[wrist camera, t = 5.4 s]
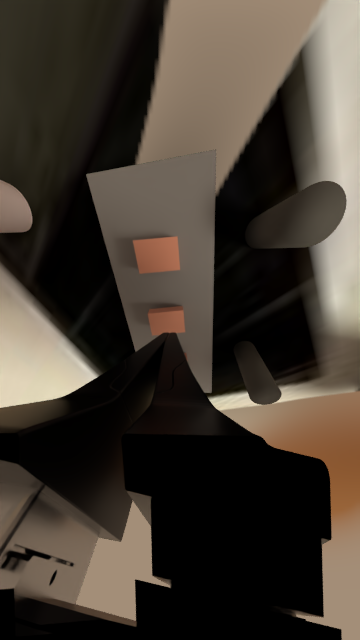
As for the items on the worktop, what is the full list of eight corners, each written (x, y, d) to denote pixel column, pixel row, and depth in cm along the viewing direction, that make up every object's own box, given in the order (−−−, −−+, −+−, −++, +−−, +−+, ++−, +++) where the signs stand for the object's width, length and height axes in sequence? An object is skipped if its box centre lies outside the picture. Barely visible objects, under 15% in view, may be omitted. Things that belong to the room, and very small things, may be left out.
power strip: (211, 175, 10) (216, 149, 8) (209, 372, 19) (211, 392, 16) (112, 191, 12) (86, 174, 9) (153, 371, 20) (146, 389, 18)
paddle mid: (182, 305, 12) (183, 310, 11) (184, 326, 13) (185, 332, 12) (149, 309, 12) (147, 313, 11) (153, 329, 13) (152, 335, 12)
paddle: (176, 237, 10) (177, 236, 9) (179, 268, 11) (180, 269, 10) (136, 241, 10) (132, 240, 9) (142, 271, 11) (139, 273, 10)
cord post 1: (256, 340, 16) (284, 385, 11) (253, 357, 17) (277, 405, 12) (234, 340, 16) (251, 384, 11) (232, 356, 18) (247, 403, 12)
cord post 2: (279, 212, 11) (356, 176, 6) (273, 247, 12) (333, 244, 7) (246, 216, 11) (290, 186, 6) (243, 249, 12) (277, 249, 7)
